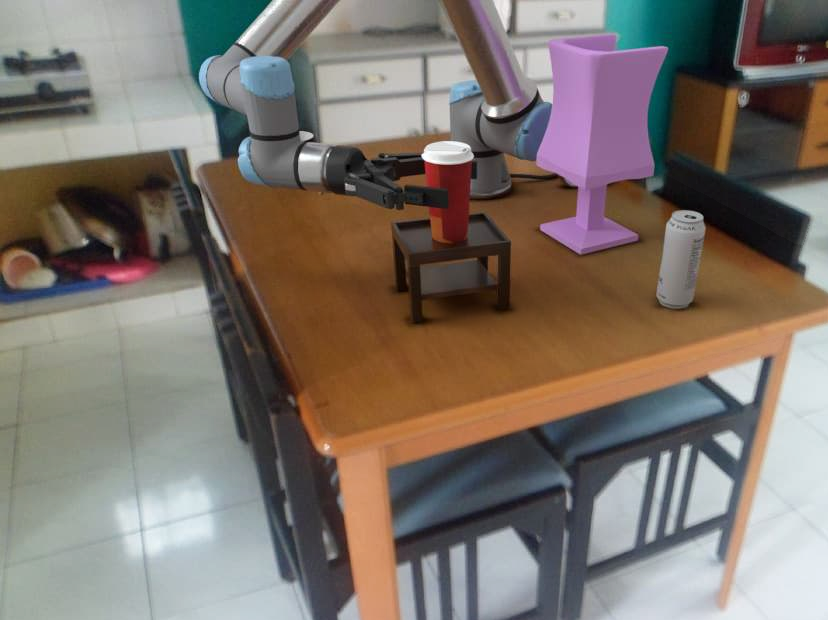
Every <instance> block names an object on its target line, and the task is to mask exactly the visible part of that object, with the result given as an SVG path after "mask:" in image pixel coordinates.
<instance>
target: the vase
mask: <svg viewBox="0 0 828 620" xmlns="http://www.w3.org/2000/svg"><path fill="white" fill-rule="evenodd" d="M617 38H618V36H617V34H614V33H605V34H604V33H602V34H595V35H594V34H593V35H582V36H572V37H560V38H552V39H549V40H548V42H547V45H548V52H549V58H550V65H551V72H552V86H553V89H552V93H553V94H552V110H551V116H550V119H549V123H548V126H547V130H546V132H545V135H544V138H543V140H542V143H541V145H540V147H539V150H538V152H537V158H536V161H535V165H536V166H537V167H539V168H541V169H542V170H545V171H548V172H550V173H551V172H552V173H553V174H555V173H557V174H559V175H561V176H563V177H565V178H566V179H567V180H569V181H570V182H572V183H573V184H574V185H576V186H578V187H577V203H576V214H575V216H573V217H572V216H571V217H567V218H563V219H558V220H553V221H550V222H546V223H540V230H539V231H541V232H543V233H544V234H546V235H548V236H549V237H551V238H552V239H554V240H556V241H558V242H559V243H560V244H562V245H564V246H565V247H568V248H569V249H571V250H572V251H574V252H575V253H577V254H579V255H580V256H582V255H586V254H590V253H594V252H598V251H602V250H606V249H609V248H614V247H618V246H621V245H625V244H630V243H633V242H638V241H639V234H637V233H636V232H634V231H632V230H630V229H628V228H626V227H625V226H623V225H621V224H619V223H617V222H615V221H613V220H611V219H609V218H607V217H605V209H606V199H607V198H606V197H607V187H608V185H609V184H612V183H616V182H621V181H625V180H640V179H645V178H650V177H654V175H655V174H654V173H655V161H654V157H653V153H652V149H651V143H650V139H649V138H650V137H649V130H648V129H649V128H648V118H649V117H648V115H649V113H648V112H649V107H650V106H649V105H650V101H651V97H652V93H653V89H654V87H655V83H656V81H657V79H658V75H659V73H660V70H661V68H662V65H663V63H664V61H665V59H666V56H667V54H668V51H669V47H668V46H664V45H661V46H660V45H659V46H658V45H657V46H649V47H640V48H631V49H623V50H621V49H620V50H616V47H617V40H618V39H617Z"/></svg>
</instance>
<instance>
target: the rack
mask: <svg viewBox="0 0 828 620" xmlns="http://www.w3.org/2000/svg"><path fill="white" fill-rule="evenodd" d="M390 226H391V241H392V257H393V269H394V272H393V273H394V284H395V285H394V287H395V289H396V291H397V293H398V292H405V291H406V292H407V290H408V296H409V313H410V314H409V315H410V320H411V322H412V324H420V323H423V321H424V320H423V319H424V317H423V301H427V300H434V299H442V298H448V297H455V296H462V295H469V294H470V295H471V294H477V293H483V292H484V293H485V292H492V291H496V292H497V297H496V299H497V300H496V307H497V309H498V310H499V311H501V312H502V311H507V310H510V300H511V264H512V263H511V261H512V259H511V258H512V241H511V239H510V238H509V237H508V236H507V235H506V234H505V233H504V232H503V231H502V229H501V228H500V227H499V225H498V224H497V223H496V222H495V221H494V220H493V219H492V218H491V217H490V215H489V214H488V213H487V211H481V212H480V211H479V212H473V213H472V212H471V213H469V223H468V235H467V238H466V239H465V240H464V241H461V242H458V243H442V242H438V241H436V240H434V239H433V236H432V230H431V221H430V217H426V218H416V219H407V220H406V219H405V220H399V221H391V222H390ZM494 256H497V282H496V280H495V279H494V278H493V276H492V275H491V274H490V272H489V257H494ZM469 259H475V260H469ZM461 260H462V261H461ZM463 260H466V261H463ZM455 261H459V262H455ZM406 262H407V264H406ZM445 262H452V263H445ZM438 263H444V264H438ZM430 264H435V265H430ZM406 265H407V268H406ZM422 265H423V266H422ZM424 265H428V266H424ZM407 280H408V287H407Z"/></svg>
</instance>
